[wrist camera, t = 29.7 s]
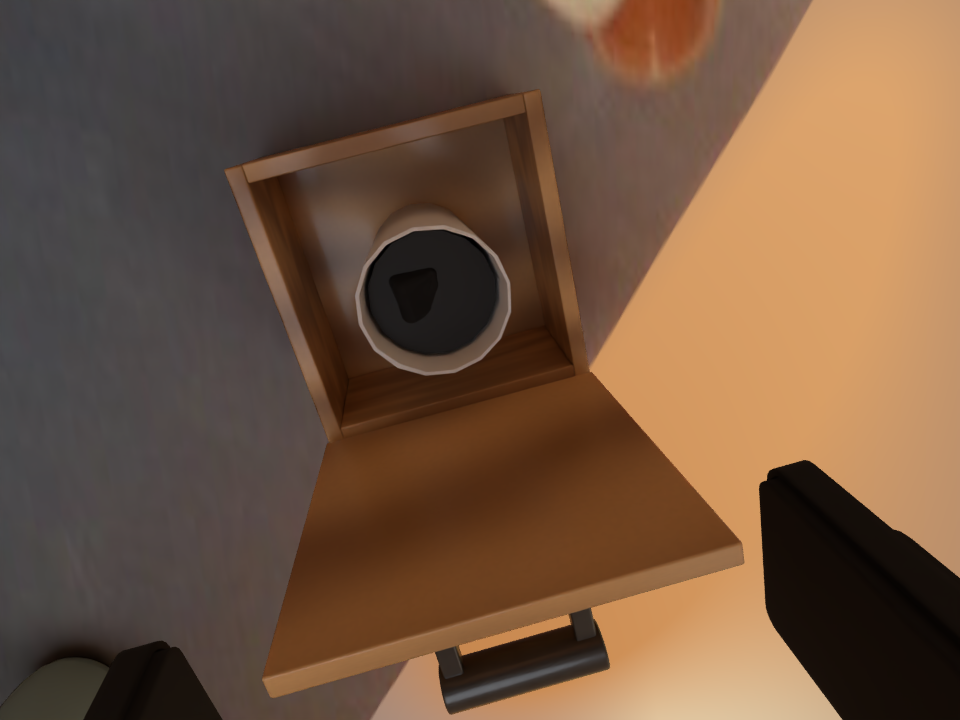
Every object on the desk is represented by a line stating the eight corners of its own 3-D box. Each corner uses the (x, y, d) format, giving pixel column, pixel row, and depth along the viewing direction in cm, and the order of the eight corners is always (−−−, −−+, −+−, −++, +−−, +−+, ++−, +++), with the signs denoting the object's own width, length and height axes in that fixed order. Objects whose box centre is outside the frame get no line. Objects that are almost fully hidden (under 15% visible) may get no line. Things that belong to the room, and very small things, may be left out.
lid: (260, 679, 17) (318, 801, 18) (743, 542, 17) (757, 672, 19) (326, 442, 31) (356, 523, 32) (591, 370, 31) (607, 454, 33)
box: (258, 158, 33) (222, 169, 26) (510, 94, 33) (540, 88, 26) (340, 387, 38) (329, 445, 31) (556, 329, 39) (590, 374, 32)
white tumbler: (385, 322, 36) (382, 393, 27) (349, 212, 33) (332, 249, 24) (493, 292, 36) (526, 352, 27) (465, 180, 34) (492, 205, 24)
